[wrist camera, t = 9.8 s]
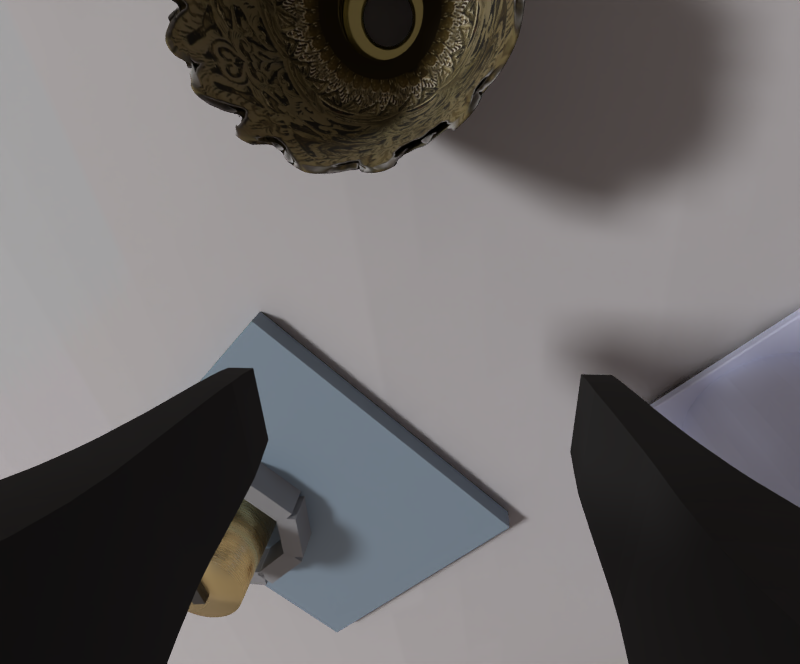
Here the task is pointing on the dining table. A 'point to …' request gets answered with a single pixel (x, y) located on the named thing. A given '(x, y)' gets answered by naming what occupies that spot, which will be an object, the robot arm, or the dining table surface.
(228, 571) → the knob
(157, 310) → the dining table surface
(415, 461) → the blue-grey flat slab
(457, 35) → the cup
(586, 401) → the robot arm
